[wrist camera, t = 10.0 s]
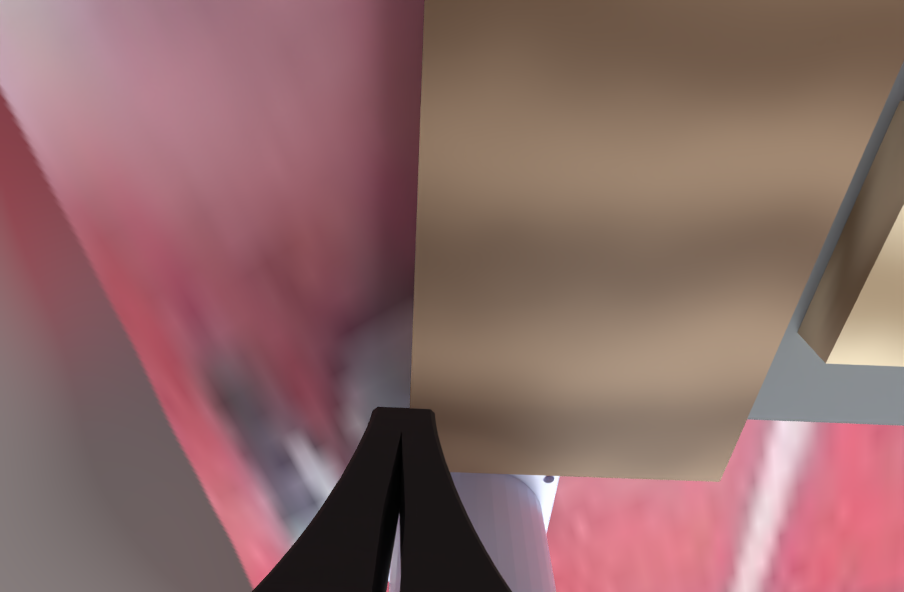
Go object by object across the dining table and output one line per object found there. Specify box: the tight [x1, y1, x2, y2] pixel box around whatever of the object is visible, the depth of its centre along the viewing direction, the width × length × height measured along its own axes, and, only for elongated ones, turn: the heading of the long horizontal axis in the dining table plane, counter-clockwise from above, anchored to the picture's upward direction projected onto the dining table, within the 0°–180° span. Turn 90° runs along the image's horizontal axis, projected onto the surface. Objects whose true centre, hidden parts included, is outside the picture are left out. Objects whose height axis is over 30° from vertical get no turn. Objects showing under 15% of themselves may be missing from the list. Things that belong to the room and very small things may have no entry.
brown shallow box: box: [410, 0, 904, 482], centre depth 19 cm, size 18×12×4 cm, turn 176°
